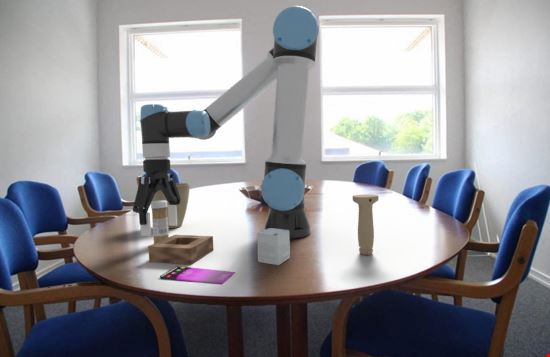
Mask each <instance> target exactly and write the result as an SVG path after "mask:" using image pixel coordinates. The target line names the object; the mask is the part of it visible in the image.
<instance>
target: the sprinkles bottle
mask: <svg viewBox="0 0 550 357" xmlns="http://www.w3.org/2000/svg"><path fill="white" fill-rule="evenodd" d="M150 207H151V215H152V216H151V217H152V218H151V219H152V220H151V221H152V235H153V244H155V243H157V242H159V241H161V240H164V239H166V238H168V237H170V236H169V229H168V218H167V201H166V200H157V201H152V202H151V204H150Z"/></svg>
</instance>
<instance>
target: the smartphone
mask: <svg viewBox="0 0 550 357" xmlns="http://www.w3.org/2000/svg"><path fill="white" fill-rule="evenodd" d="M235 274H236V271H230V270H222V269H221V270H219V269H211V268H199V267H192V266H182V265H181V266H180V265H177V266H174V267H173V268H170V269H169V270H167V271H166V272H164V273H162V274H160V275H159V278H160V279H161V280H168V281H169V280H170V281H178V282H188V283H189V282H191V283H199V284H200V283H201V284H212V285H224V283H225V282H226V281H228V280H229V279H230V278H231V277H233V275H235Z"/></svg>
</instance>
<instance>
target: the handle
mask: <svg viewBox="0 0 550 357" xmlns="http://www.w3.org/2000/svg"><path fill="white" fill-rule="evenodd" d="M352 201H353V203H355V204H357V206H358V217H357V218H358V221H357V239H358V240H357V242H358V247H359V248H358V251H359V254H361V255H363V256H365V255H366V256H370V255H372V254H373V252H374V248H373V247H374V239H375V232H374V231H375V230H374V216H373V215H374V214H373V205H374V204H375V203H377V202H378V201H379V195H377V194H371V193H369V194H355V195H352Z"/></svg>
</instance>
